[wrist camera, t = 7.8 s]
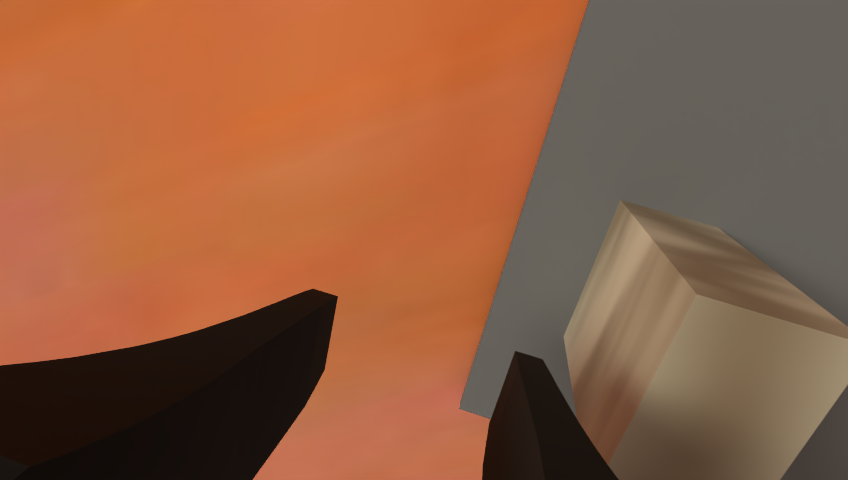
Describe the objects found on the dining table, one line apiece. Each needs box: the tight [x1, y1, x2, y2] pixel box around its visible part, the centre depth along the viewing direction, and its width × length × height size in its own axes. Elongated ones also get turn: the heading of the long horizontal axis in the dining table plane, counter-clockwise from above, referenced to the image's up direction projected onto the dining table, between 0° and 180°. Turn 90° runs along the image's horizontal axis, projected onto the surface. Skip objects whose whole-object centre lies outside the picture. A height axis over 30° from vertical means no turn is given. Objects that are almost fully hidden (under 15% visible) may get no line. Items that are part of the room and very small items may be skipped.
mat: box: [459, 0, 848, 480], centre depth 17 cm, size 18×20×1 cm
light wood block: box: [564, 200, 848, 480], centre depth 14 cm, size 4×6×8 cm, turn 166°
